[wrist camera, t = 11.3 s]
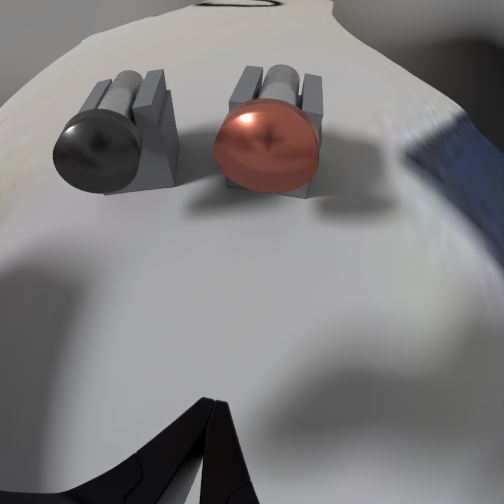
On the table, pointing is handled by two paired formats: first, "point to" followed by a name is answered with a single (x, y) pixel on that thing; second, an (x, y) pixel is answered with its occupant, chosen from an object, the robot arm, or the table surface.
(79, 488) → the robot arm
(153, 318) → the table surface
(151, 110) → the grey u-shaped block
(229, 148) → the copper plunger
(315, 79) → the bed
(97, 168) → the black plunger
